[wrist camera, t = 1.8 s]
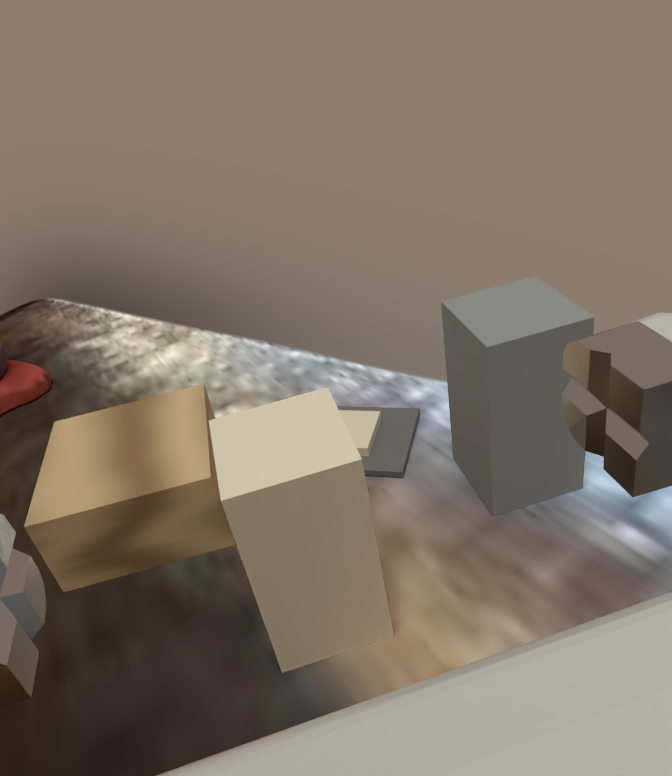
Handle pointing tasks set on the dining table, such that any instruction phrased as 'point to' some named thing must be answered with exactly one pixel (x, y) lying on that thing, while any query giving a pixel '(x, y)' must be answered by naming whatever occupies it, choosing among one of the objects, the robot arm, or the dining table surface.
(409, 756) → the robot arm
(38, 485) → the oak pedestal
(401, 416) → the card
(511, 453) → the grey block
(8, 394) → the stacking bear
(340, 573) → the cream block
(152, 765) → the dining table surface
